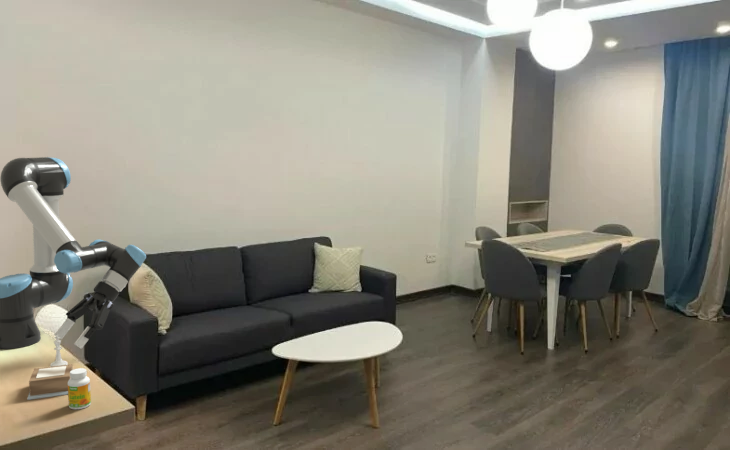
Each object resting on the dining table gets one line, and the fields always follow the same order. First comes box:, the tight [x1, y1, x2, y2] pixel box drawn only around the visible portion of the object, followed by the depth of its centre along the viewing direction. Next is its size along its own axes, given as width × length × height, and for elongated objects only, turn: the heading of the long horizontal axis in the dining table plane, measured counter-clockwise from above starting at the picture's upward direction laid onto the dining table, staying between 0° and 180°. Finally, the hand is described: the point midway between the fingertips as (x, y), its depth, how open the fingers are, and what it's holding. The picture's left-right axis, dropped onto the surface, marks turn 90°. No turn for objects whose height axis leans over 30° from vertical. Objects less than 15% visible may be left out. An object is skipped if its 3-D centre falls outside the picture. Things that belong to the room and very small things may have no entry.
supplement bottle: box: [67, 367, 92, 410], centre depth 156 cm, size 5×5×10 cm
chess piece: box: [49, 335, 69, 367], centre depth 184 cm, size 5×5×10 cm
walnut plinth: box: [28, 363, 74, 396], centre depth 167 cm, size 10×10×5 cm
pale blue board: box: [27, 368, 75, 401], centre depth 170 cm, size 18×11×1 cm, turn 23°
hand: (67, 341), depth 185 cm, fingers open, 13 cm apart
